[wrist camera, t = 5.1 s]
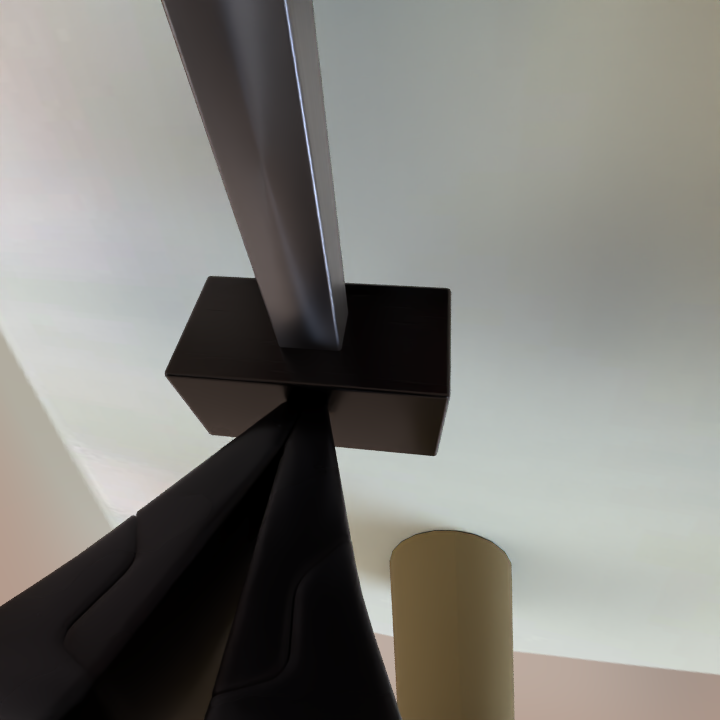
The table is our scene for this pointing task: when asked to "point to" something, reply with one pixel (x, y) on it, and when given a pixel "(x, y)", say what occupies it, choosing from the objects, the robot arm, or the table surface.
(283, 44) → the lever
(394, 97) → the table surface
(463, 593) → the cork
